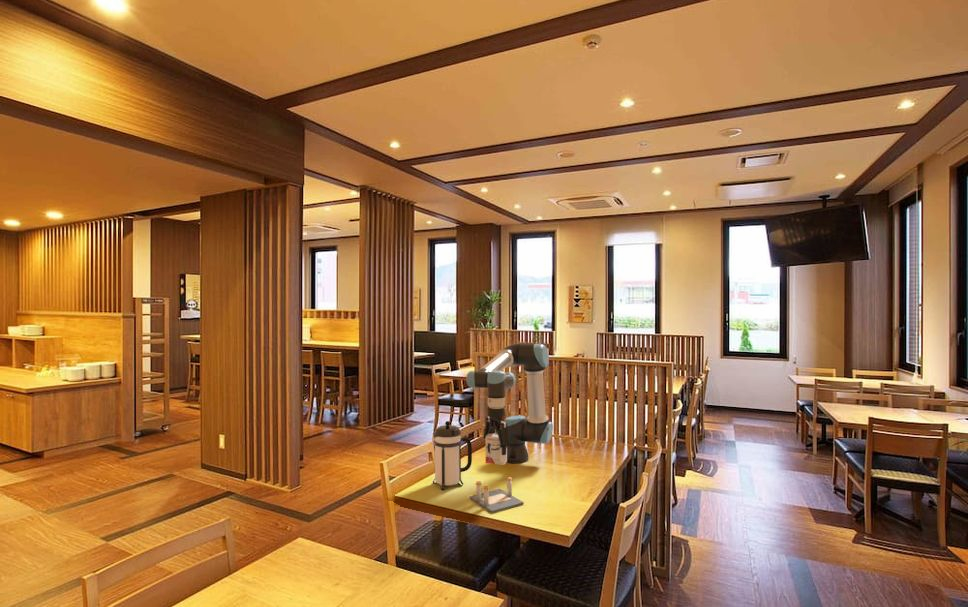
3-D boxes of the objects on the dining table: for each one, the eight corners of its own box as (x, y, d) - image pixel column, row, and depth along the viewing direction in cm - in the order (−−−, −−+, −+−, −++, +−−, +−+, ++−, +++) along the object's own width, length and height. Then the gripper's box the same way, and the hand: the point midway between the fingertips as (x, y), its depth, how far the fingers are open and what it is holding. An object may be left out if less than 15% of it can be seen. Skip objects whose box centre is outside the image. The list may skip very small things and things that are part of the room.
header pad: (469, 498, 214) (469, 478, 214) (500, 490, 222) (499, 471, 222) (491, 513, 198) (491, 491, 198) (523, 504, 207) (523, 483, 207)
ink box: (485, 463, 210) (485, 435, 210) (488, 459, 215) (488, 432, 215) (504, 465, 207) (504, 437, 207) (507, 461, 212) (507, 434, 212)
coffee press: (458, 492, 220) (457, 426, 220) (426, 488, 226) (426, 423, 226) (472, 479, 237) (472, 417, 237) (442, 475, 242) (442, 415, 242)
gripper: (475, 403, 218) (475, 453, 218) (503, 412, 200) (503, 467, 200) (489, 401, 222) (489, 451, 222) (518, 410, 204) (518, 464, 204)
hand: (496, 458), depth 211 cm, fingers closed on ink box, 9 cm apart
